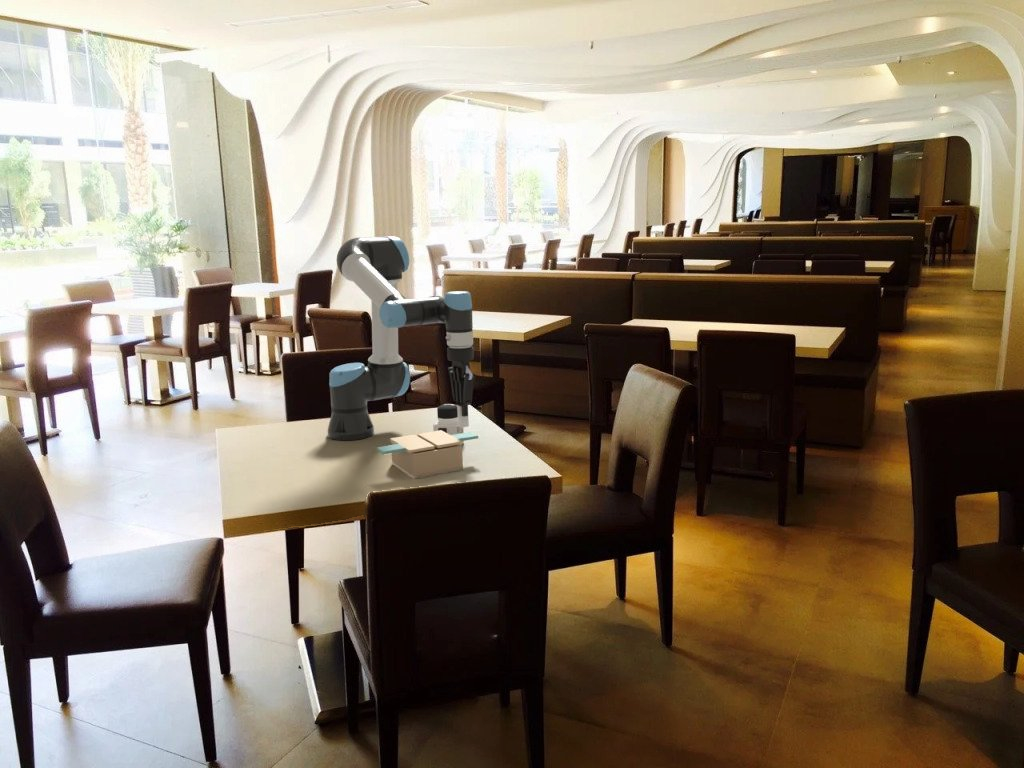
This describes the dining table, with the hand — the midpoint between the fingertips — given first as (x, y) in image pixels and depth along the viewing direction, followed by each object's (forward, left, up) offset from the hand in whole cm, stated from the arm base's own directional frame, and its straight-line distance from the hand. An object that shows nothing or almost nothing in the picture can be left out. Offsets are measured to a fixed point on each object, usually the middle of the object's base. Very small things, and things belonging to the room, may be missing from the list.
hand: (463, 426), depth 238 cm
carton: (-2, -11, -11) cm, 16 cm away
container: (-19, +4, -11) cm, 22 cm away
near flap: (-2, -19, -3) cm, 19 cm away
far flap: (-2, -3, -3) cm, 5 cm away
